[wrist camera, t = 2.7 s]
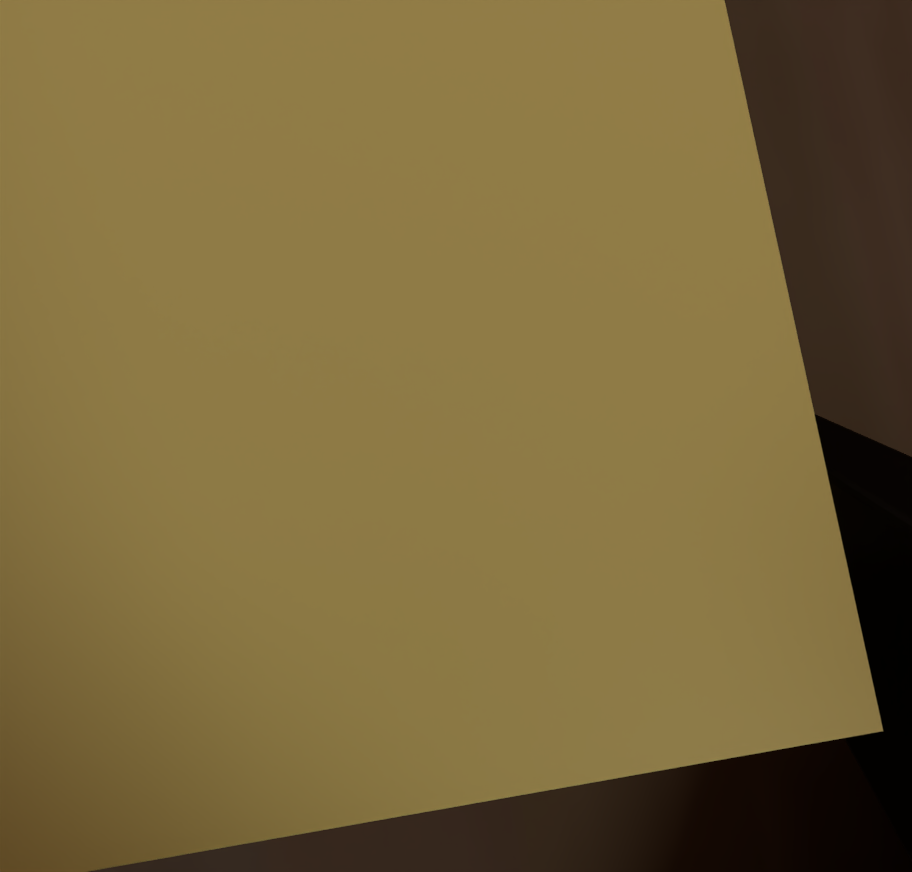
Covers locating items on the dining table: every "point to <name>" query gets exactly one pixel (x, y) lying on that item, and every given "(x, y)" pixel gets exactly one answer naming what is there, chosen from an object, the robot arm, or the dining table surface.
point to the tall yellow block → (392, 419)
